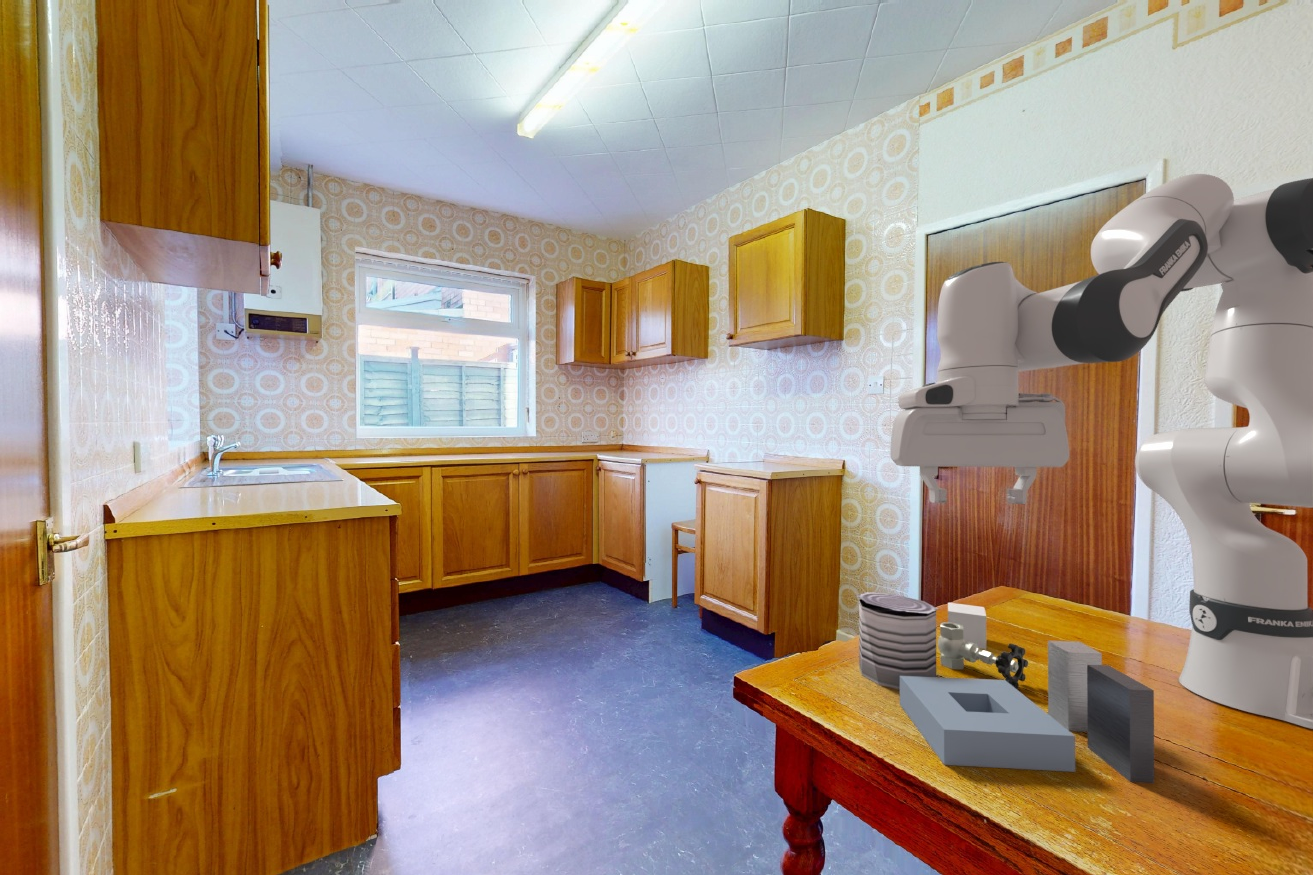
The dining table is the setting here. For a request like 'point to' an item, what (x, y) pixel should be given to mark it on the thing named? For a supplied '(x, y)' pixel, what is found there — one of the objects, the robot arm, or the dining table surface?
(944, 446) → the robot arm
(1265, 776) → the dining table surface
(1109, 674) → the dark grey rectangular slab
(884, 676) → the can
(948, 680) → the bore block
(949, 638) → the valve
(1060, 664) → the square bit
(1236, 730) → the dining table surface
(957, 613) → the white cube
